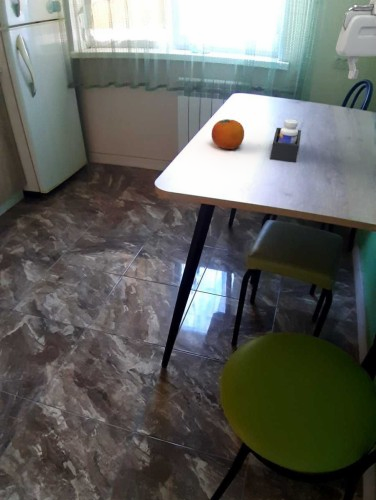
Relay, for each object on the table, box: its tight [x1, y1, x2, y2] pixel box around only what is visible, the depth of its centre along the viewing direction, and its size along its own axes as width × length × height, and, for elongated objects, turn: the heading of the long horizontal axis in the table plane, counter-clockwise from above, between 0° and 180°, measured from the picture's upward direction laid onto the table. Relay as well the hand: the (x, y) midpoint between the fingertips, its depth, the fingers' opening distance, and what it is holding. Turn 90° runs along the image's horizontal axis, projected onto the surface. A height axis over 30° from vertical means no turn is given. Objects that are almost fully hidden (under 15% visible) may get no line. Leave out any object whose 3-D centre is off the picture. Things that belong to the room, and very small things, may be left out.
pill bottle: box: [278, 118, 299, 144], centre depth 128 cm, size 5×5×10 cm
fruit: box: [211, 118, 245, 150], centre depth 133 cm, size 11×10×8 cm
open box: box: [269, 127, 302, 164], centre depth 133 cm, size 8×15×5 cm, turn 167°
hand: (369, 78), depth 99 cm, fingers open, 8 cm apart
